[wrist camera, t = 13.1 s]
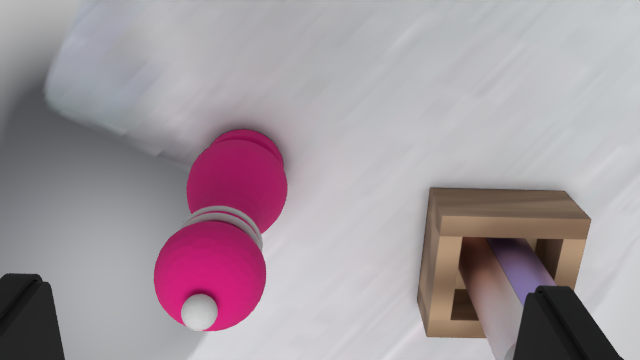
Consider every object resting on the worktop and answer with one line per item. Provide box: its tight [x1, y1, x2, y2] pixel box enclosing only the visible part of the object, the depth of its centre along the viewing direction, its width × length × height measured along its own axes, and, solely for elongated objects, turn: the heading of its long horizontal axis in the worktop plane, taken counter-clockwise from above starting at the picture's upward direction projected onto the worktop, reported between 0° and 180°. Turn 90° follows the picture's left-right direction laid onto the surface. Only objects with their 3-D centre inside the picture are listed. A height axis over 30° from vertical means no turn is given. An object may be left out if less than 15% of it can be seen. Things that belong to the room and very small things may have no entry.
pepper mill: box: [154, 129, 287, 331], centre depth 37 cm, size 7×7×20 cm
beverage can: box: [458, 237, 557, 360], centre depth 41 cm, size 6×6×15 cm
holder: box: [417, 188, 591, 338], centre depth 47 cm, size 11×11×5 cm
